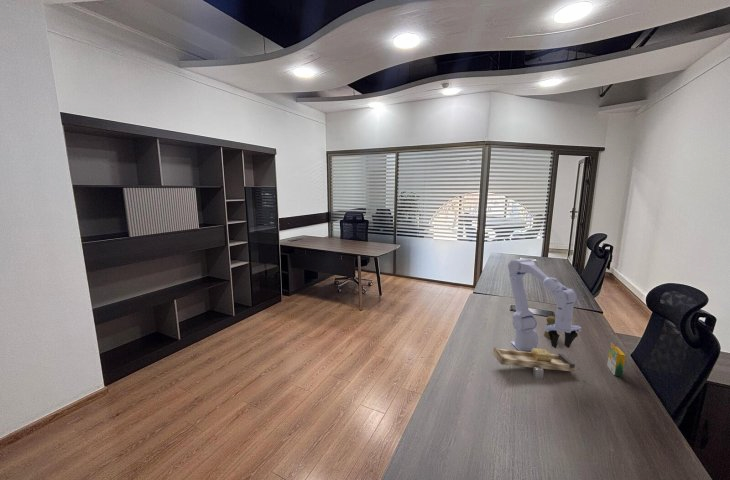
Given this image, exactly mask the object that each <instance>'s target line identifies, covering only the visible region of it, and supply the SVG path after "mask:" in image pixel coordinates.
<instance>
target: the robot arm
mask: <svg viewBox="0 0 730 480" xmlns="http://www.w3.org/2000/svg"><path fill="white" fill-rule="evenodd" d="M507 268H508V274H509V276H508V277H509V281H510V286H511V291H512V297H513V301H514V306H515V311H514V313H513V314H512V326H513V328H514V330H515V334H514V340H513V341H510V343H511V344H512V345H513V346H514V347H515V349H516V350H517V351H526V352H531V350H532V348H538V342H539V341H538V340H539V334H538V332H537V331H536V330H535V329H536V328H537V327H538V322H537V319H536V318H535V315H534V313H533V312H532V311H531V310H529V305H528V301H527V295H526V290H525V286H524V282H523V277H524V276H525V275H526V274H529V275H531V276H533V277H534V278H536V279H537V280H538V281H540V282H541V283H542V287H543V288H544V289H545V290H547V291H548V292H549V293H550V294H551V295H553V296H554V299H555V302H556V303H555V305H556V311H555V317H556V318H555V324H553V325H548V326H546V325H544V326H543V331H544V332H545V331H546V332H548V334H549V336H550V339H549V340H550V343H551V346H552V347H553V348H555V349H556V348H557V346H558V340H559V338H560V334H558V332H564V346H565V347H566V348H569V349H570V347H571V345H572V343H573V342H574V340H575V339H576V338H577V337H578V333H581V332H582V327H581V326H580V325H572V321H573V313H574V305H575V303H576V302H577V301H578V300H579V294H578V293H577V291H576V290H575V289H573V288H569V287H567V286H566V285H564V284H563V283H561V282H560V281H559V280H558V278H556V277H550V276H548V275H546V274H545V272H543V270H541V269H540V268H539V267H538V266H537V265H536V262H535V261H533V260H532V259H530V258H529V257H526V258H520V259H519V258H518V259H511V260H510V261H509V262H508V264H507Z"/></svg>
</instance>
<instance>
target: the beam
mask: <svg viewBox="0 0 730 480" xmlns="http://www.w3.org/2000/svg"><path fill="white" fill-rule="evenodd" d="M492 354H493V356H494V357H495V359H496V360H497V361H498V363H499V364H500V365H503V366H512V367H515V366H516V367H526V368H533V369H534V367H542V368H543V369H545V370H554V371H565V372H574V371H575V367H576V364H575V363H574V362H573V361H572V360H570V358H569V357H567V356H566V355H565V354H564V353H557V354H556V353H550V354H551V355H553V356H552V360H551V362H545V361H535V360H534V359H533V358H532V357H531V356H530V355H531V351H519V350H517V349H513V350H512V349H505V348H498V347H497V346H495V347H493V352H492Z"/></svg>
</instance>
